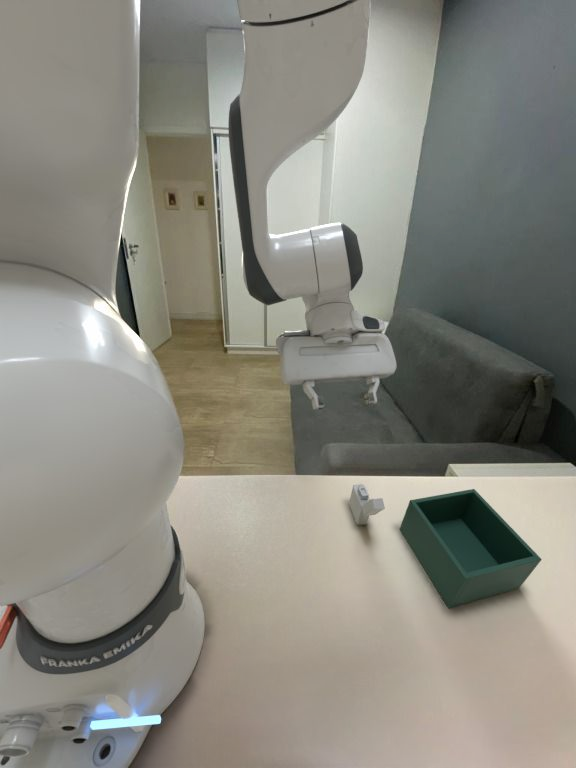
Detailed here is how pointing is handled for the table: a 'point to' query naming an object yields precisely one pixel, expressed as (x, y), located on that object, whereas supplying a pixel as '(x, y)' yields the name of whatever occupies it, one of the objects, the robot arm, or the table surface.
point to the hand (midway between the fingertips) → (345, 406)
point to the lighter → (363, 504)
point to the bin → (466, 547)
